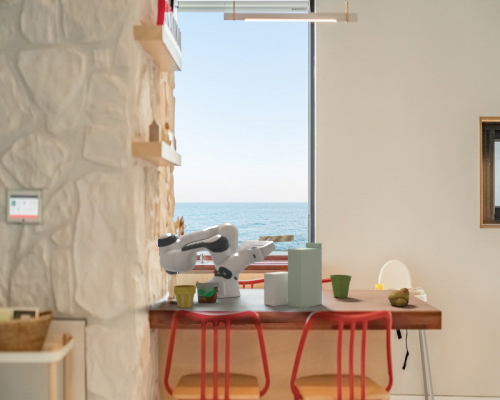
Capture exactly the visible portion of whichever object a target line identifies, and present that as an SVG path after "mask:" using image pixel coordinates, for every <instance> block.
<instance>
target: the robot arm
mask: <svg viewBox="0 0 500 400" xmlns="http://www.w3.org/2000/svg"><path fill="white" fill-rule="evenodd" d="M158 237H159V239H158V247H159V253H158V257H159V256H160V257H159V265H160V267H161V269H163V270H164V272H165V273H166V274H167V275H169V276H174V275H177V274H180V273H187V272H191V271H192V270H193V269H194V268H195V266H196V264H197V259H198V254H197V253H199V252H202V251H207V252H208V253H209V255H210V257H211V260H212V263H213V265H214V267H215V270H213V271H212V274H213V276H212V277H211V278H210V279H209V280H207V281H206V282H205V283H216V282H218V283H219V286H218V290H217V298H218V299H224V298H225V299H226V298H235V297H236V298H237V297H240V296H241V295H242V294H241V291H240V285H239V278H240V276H239V275H240V274H241V273H242V272H244V270H245V269H246V268H248V267H249V266H251V265H252V264H254V263H259V262H262V261H264V260H265V258H266V257H268V256H269V255H270V254H271V253H272V252H273V251H274V250H275V249H276V245H275V242H273V241H272V239H271V237H268V238H267V240H266V241H259V238H258V239H255V240H254V239H253V240H252V239H247V240H244V241H243V242H241V244H240V245H239V230H238V228H237V225H235V224H233V223H230V222H223V223H220V224H216V225H213V226H209V227H206V228H202V229H199V230H195V231H191V232H188V233H185V234H182V235H180V236H176V234H174V233H170V232H168V233H167V232H166V233H163V234H161V235H159V236H158ZM177 272H178V273H177Z"/></svg>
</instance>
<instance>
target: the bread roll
mask: <svg viewBox="0 0 500 400" xmlns="http://www.w3.org/2000/svg"><path fill="white" fill-rule="evenodd" d="M387 299H388V301H389V304H391V305H393V306H395V305H396V306H395V307H405V306H407V305H409V302H410V300H409V299H410V291H409V289H408V288H406V287H403V288H400V289H398V290H394V291H391V292H389V295H388V298H387Z"/></svg>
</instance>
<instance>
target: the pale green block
mask: <svg viewBox="0 0 500 400" xmlns="http://www.w3.org/2000/svg"><path fill="white" fill-rule="evenodd" d="M322 245H323V243H321V242H319V243H318V242H305V247H297V248H296V247H294V248H287V272H288V304H287V306H289V307H295V308H300V309H303V308H311V307H315V306H322V305H323V302H322V301H323V296H322V295H323V285H322V283H323V281H322V280H323V279H322V278H323V274H322V272H323V269H322V264H323V263H322V259H323V257H322V256H323V255H322V254H323V253H322V252H323V251H322V249H323V248H322Z"/></svg>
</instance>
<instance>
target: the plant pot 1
mask: <svg viewBox="0 0 500 400" xmlns="http://www.w3.org/2000/svg"><path fill="white" fill-rule="evenodd" d="M196 292H197V287H196V284H195V285H194V284H179V285H174V286H173V294H174V295H175V301H176V305H177V308H181V309H188V308H189V309H190V308H192V307H193V304H194V303H193V302H194V298H195V295H196Z"/></svg>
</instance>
